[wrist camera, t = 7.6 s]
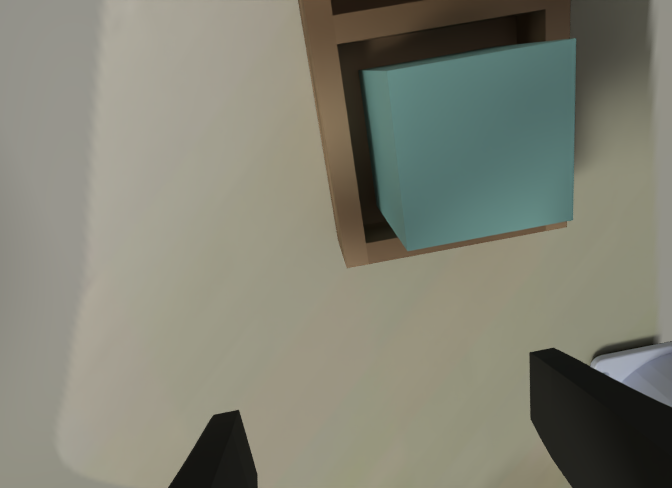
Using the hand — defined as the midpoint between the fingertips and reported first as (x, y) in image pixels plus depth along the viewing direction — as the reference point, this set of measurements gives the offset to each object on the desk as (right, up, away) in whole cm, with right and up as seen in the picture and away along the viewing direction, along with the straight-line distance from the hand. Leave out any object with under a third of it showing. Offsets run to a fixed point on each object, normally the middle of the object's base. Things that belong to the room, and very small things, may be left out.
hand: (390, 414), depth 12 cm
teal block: (+2, +8, +6) cm, 11 cm away
